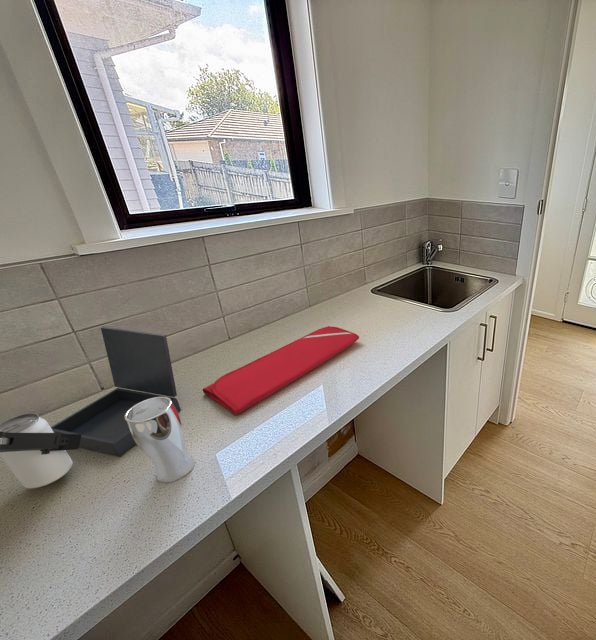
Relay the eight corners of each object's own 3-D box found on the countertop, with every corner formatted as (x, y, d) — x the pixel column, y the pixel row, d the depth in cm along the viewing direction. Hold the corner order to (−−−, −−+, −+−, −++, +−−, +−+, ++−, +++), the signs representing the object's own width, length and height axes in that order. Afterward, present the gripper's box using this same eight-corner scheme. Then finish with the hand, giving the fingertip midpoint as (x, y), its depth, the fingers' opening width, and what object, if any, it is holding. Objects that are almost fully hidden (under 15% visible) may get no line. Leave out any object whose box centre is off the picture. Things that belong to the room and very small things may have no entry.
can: (79, 469, 62) (47, 420, 57) (29, 496, 57) (-11, 445, 52) (67, 454, 65) (36, 406, 60) (19, 479, 60) (-20, 428, 55)
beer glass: (160, 460, 66) (131, 400, 60) (201, 450, 68) (177, 392, 62) (148, 489, 60) (115, 427, 54) (193, 478, 63) (166, 416, 56)
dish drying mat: (202, 393, 85) (198, 381, 83) (327, 331, 115) (326, 321, 114) (236, 418, 77) (232, 405, 75) (361, 344, 108) (360, 334, 106)
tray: (120, 457, 67) (113, 443, 65) (54, 442, 70) (46, 429, 69) (181, 410, 79) (176, 398, 78) (123, 399, 83) (117, 387, 81)
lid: (162, 336, 73) (166, 335, 74) (100, 327, 76) (104, 326, 77) (174, 397, 77) (177, 395, 78) (114, 386, 80) (118, 385, 81)
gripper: (-234, 491, 39) (-11, 472, 60) (-36, 471, 41) (109, 459, 63) (-201, 424, 41) (2, 428, 63) (-17, 408, 44) (117, 418, 65)
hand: (55, 444), depth 63 cm, fingers closed on can, 6 cm apart
